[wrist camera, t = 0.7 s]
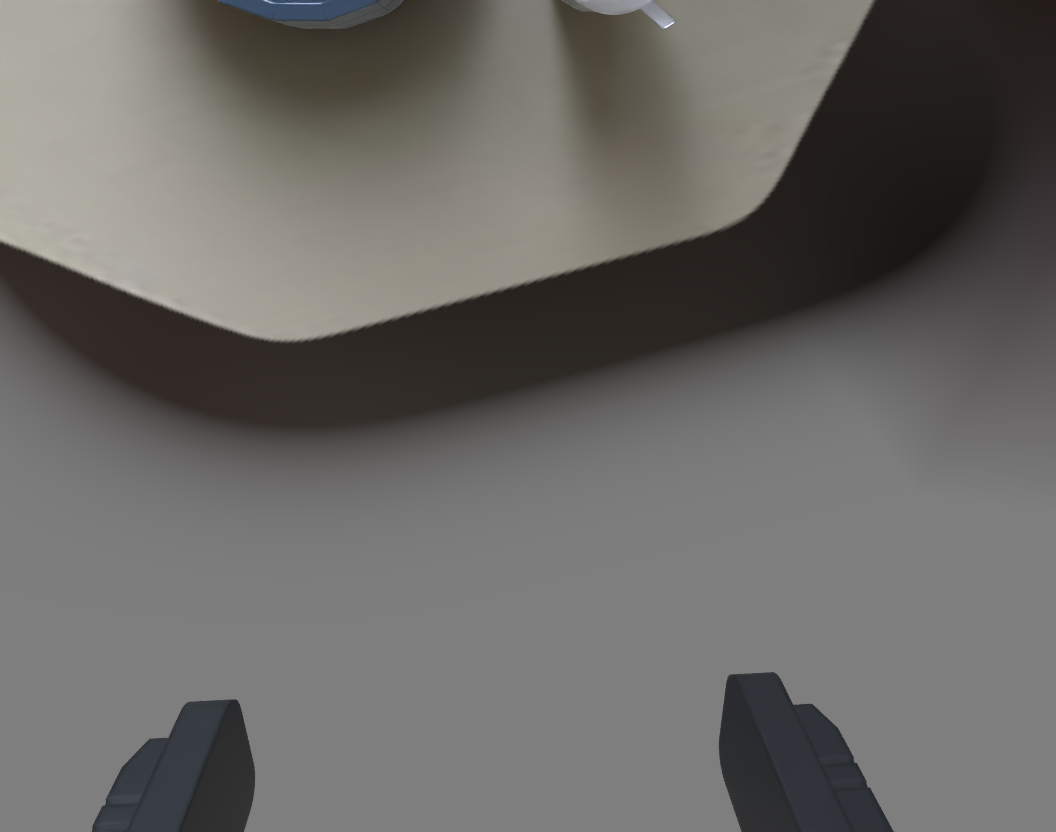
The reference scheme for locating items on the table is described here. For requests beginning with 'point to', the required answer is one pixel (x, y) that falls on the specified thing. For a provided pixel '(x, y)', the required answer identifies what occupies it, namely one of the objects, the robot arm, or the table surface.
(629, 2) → the milkshake
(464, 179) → the table surface
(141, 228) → the table surface
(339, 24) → the bowl
